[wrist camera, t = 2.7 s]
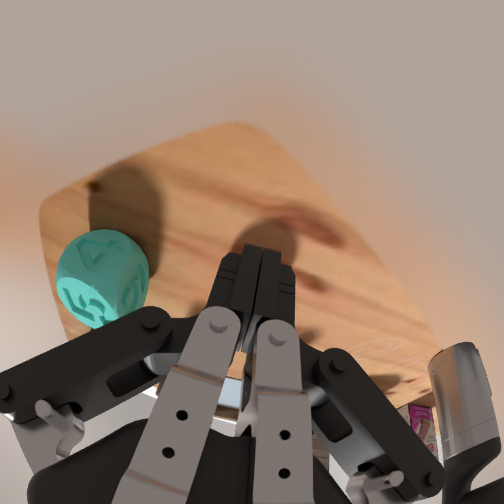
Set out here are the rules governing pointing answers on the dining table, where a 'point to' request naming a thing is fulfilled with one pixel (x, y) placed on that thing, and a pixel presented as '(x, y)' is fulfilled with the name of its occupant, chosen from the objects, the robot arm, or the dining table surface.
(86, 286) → the decorative dice
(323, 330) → the dining table surface
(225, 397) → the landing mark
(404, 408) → the candy bar box
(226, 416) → the stopper rail
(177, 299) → the dining table surface
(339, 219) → the dining table surface
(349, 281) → the dining table surface
